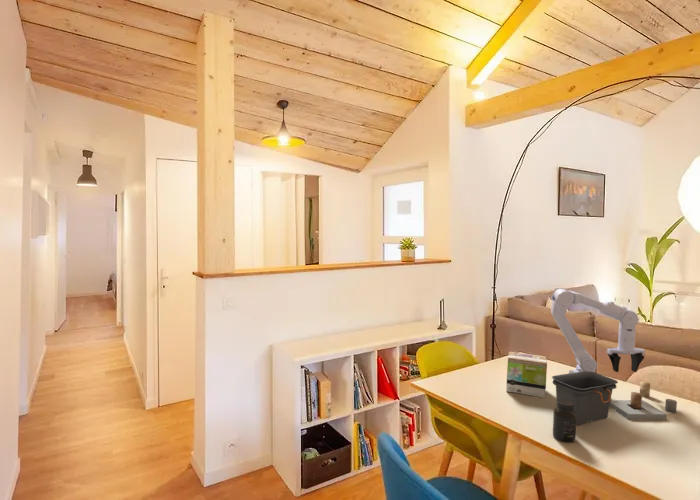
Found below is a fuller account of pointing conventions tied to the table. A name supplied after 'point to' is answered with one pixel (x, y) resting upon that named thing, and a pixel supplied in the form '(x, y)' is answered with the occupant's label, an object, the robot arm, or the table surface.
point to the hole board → (637, 411)
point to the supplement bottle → (564, 421)
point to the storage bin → (586, 394)
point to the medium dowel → (645, 389)
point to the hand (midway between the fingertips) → (624, 371)
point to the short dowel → (670, 405)
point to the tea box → (526, 374)
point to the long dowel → (636, 401)
